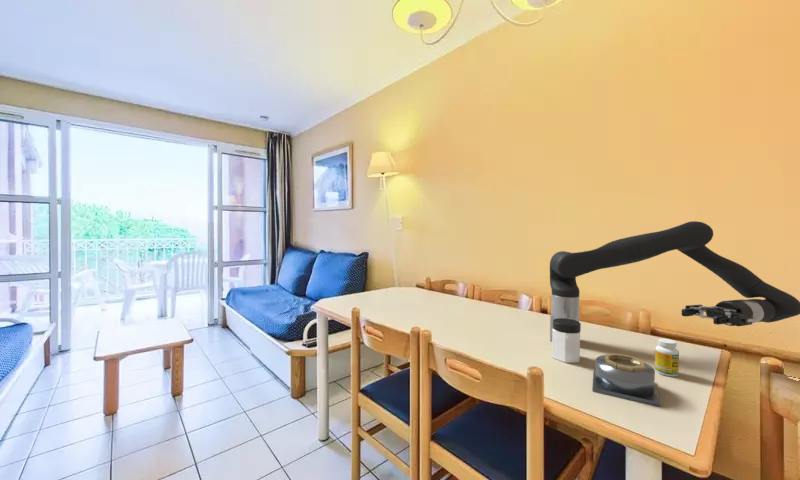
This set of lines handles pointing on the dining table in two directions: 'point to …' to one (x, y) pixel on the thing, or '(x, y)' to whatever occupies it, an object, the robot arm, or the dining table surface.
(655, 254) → the robot arm
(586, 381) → the dining table surface
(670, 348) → the supplement bottle
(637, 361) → the gold-rimmed grey pod
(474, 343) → the dining table surface
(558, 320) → the jar
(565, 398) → the dining table surface
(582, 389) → the dining table surface
